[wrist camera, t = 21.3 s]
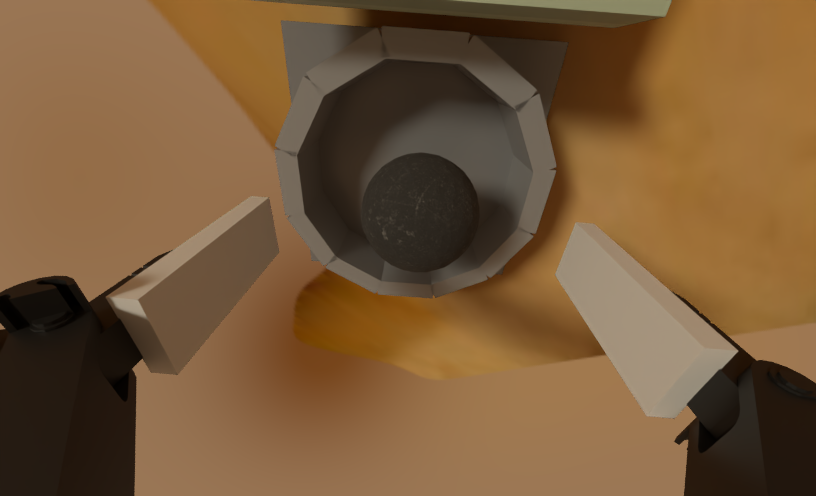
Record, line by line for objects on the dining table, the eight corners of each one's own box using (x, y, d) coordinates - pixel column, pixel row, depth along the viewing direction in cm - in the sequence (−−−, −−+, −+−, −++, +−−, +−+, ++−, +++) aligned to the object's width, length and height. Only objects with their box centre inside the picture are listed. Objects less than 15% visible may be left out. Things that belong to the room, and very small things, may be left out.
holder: (562, 43, 17) (608, 34, 13) (499, 269, 25) (515, 307, 21) (286, 22, 17) (243, 6, 13) (314, 255, 25) (294, 291, 21)
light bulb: (382, 214, 22) (362, 301, 13) (371, 134, 19) (337, 178, 10) (458, 208, 22) (489, 294, 13) (458, 126, 19) (497, 165, 10)
